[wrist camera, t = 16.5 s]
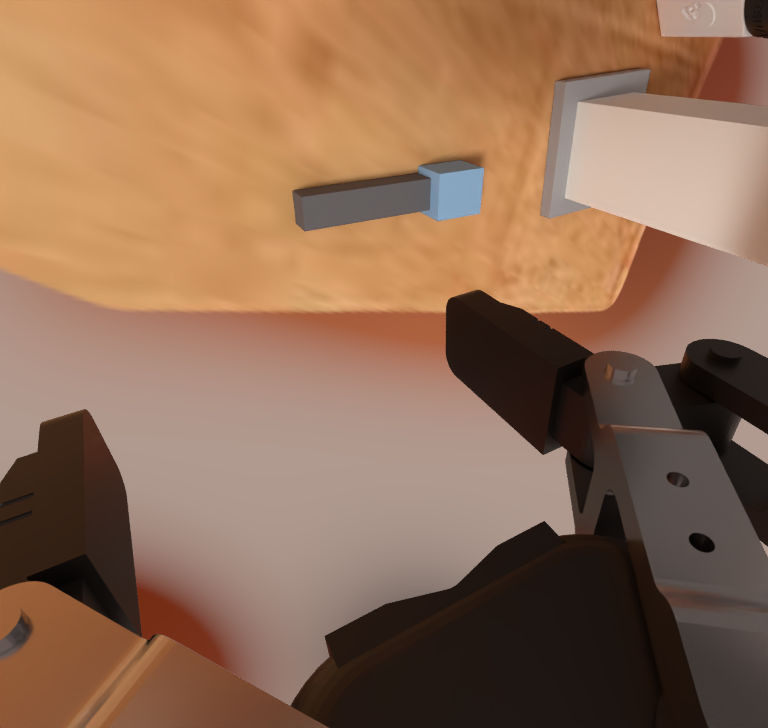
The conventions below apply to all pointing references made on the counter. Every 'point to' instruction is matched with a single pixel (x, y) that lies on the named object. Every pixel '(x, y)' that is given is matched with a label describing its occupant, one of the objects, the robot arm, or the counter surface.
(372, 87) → the counter surface
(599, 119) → the pedestal stand
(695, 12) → the jar
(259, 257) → the counter surface
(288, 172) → the counter surface
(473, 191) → the blue block grey bar
